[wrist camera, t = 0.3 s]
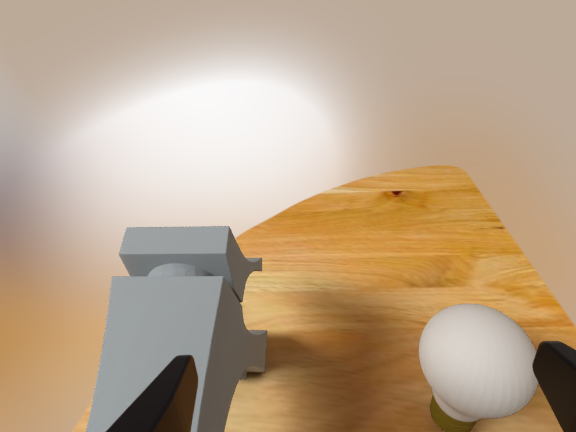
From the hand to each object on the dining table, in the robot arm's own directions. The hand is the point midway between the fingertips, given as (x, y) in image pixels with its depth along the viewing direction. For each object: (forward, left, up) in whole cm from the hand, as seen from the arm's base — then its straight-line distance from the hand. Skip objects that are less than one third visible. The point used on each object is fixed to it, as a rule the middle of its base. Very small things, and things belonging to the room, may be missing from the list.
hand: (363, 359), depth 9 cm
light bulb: (+6, -8, -17) cm, 20 cm away
